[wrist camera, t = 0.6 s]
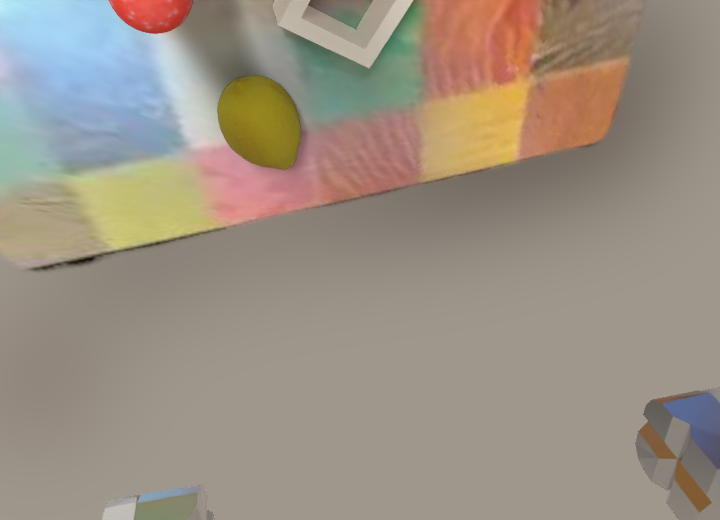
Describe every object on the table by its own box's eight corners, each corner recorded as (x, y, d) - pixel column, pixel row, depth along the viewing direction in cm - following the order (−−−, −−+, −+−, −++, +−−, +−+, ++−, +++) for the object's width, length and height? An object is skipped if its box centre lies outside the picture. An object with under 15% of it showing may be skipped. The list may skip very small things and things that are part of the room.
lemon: (200, 68, 57) (205, 114, 52) (276, 44, 57) (288, 89, 52) (238, 151, 65) (245, 198, 60) (304, 130, 65) (317, 176, 60)
